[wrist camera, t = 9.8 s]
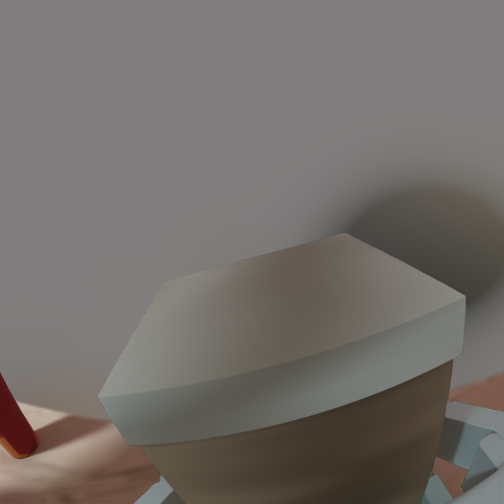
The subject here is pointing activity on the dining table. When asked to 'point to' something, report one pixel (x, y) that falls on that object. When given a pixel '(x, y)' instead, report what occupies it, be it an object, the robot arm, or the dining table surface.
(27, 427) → the paper cup
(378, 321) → the lidded brown carton
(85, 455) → the dining table surface
